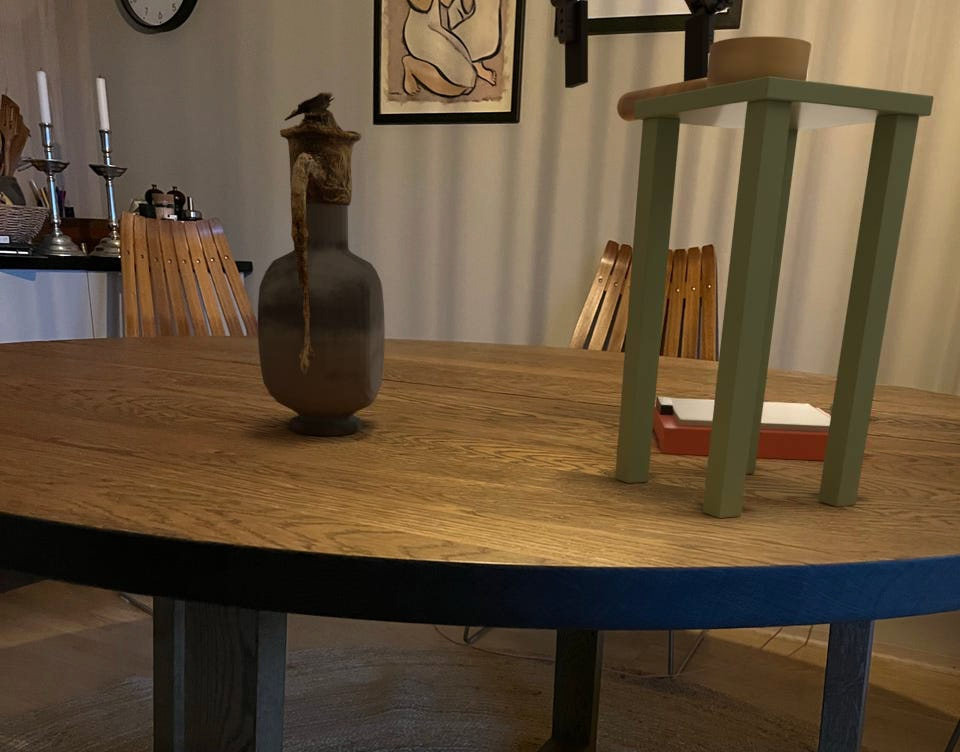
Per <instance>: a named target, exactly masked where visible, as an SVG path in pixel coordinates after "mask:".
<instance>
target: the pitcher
mask: <svg viewBox="0 0 960 752" xmlns="http://www.w3.org/2000/svg"><path fill="white" fill-rule="evenodd" d="M333 95H334V94H333V93H332V92H331V91H329V92H326V91H325V92H324V91H323V92H319V93H318V94H317V95H315V96H313V97H311V98H307V99H305V100H304V101H301V102H300V103H299V104H298V105H297V108H294V109H293V110H292V112H291V113H290V114H289V115H287V116H286V117H285V118H284V121H285V122H286V121H289V120H290V119H293V118H295V117H296V116H299V115H303V116H304V117H303V118H302V119H301V121H300V122H299V124H295V125H294V126H290V127H286V128H282V129H280V130H279V135H280V137H282V138H285V139H286V140H287V146H288V155H289V156H288V157H289V182H290V183H289V184H290V185H289V187H290V214H291V231H290V232H291V233H290V234H291V235H290V236H291V239H292V241H293V247H294V248H293V250H291V251H290V252H288V253H286V254H284V255H282V256H280V257H278V258H275V259H274V260H273V261H271V262H270V264H269V266H268V268H267V269H266V270H265V272H264V274H263V277H262V280H261V281H260V284H259V287H258V299H257V300H258V301H257V339H258V340H257V343H258V356H259V363H260V370H261V371H260V372H261V377H262V382H263V384H264V386H265V388H266V390H267V391H268V393H269V395H270V396H271V397H272V398H273V399H274V401H276V402H277V403H278V404H280V405H282V406H283V407H286V408H288V409H289V410H292V412H294V413H296V414H297V415H296V416H293V417H292V418H291V419H290V421H289V428H290V430H291V431H293V432H295V433H296V434H301V435H306V436H319V437H332V436H333V437H335V436H346V435H351V434H356V433H358V432H359V431H361V430H362V429H363V420H362V418H360V417H359V416H356V413H357V412H359V411H361V410H363V409H365V408H368V407H370V406H372V404H373V403H374V402H375V400H376V398H377V396H378V394H379V392H380V390H381V386H382V382H383V375H384V363H385V361H384V360H385V337H386V335H385V332H386V331H385V330H386V329H385V305H384V304H385V302H384V291H383V285H382V280H381V278H380V276H379V274H378V271H377V270H376V268H375V267H374V266H373V264H372V263H371V262H369V261H368V260H366V259H364V258H363V257H360V256H359V255H356V254H355V253H354V252H352V251H351V250H350V248H349V206H351V202H352V194H353V179H352V178H353V177H352V155H353V149H354V146H355V144H356V143H357V142H359V141H361V140H362V139H363V137H362V134H361V133H359V132H357V131H355V130H354V131H353V130H343V129H342V128H341V127H340V126H339V124H338V122H337V121H336V119H335V116H334V113H333V112H332V111H331V110H329V109H328V108H329V107H330V106H331V104H330V103H331V102H332V101H334V100H335V99H336V97H333V98H332V96H333Z"/></svg>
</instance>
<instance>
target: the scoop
mask: <svg viewBox="0 0 960 752" xmlns="http://www.w3.org/2000/svg"><path fill="white" fill-rule="evenodd" d="M811 51H812V44H811V43H810V42H809V41H807V40H804V39H800V38H794V37H788V36H787V37H786V36H765V35H764V36H762V35H761V36H758V35H757V36H741V37H731V38H725V39H721V40H717V41H714V43H713V44H711V46H710V52H709V55H708V73H707V77H706V78H700V79H695V80H690V81H685V82H684V81H680V82H675V83H669V84H664V85H659V86H655V87H648V88H643V89H638V90H637V89H636V90H633V91H628V92H625V93H623V94H622V95H621V96H620V98H619V99H618V101H617V106H616V110H617V114H618V116H619V117H620V118H621V119H622V120H624V121H625V122H634V121H637V120H636V119H634V107H635V101H640V100H645V99H651V98H656V97H661V96H667V95H672V94H677V93H683V92H688V91H693V90H699V89H704V88H709V87H715V86H720V85H725V84H731V83H736V82H742V81H747V80H752V79H758V78H763V77H768V76H770V77H778V78H787V79H795V80H803V81H808V74H809V69H810V68H809V67H810V60H811V53H812V52H811Z"/></svg>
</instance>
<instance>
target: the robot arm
mask: <svg viewBox="0 0 960 752" xmlns="http://www.w3.org/2000/svg"><path fill="white" fill-rule="evenodd" d="M683 1H684V3H685V4H686V7H687V8H688V10H689V12H690V14H691V16H692V17H690V18H687V19H685V21H684V48H683V49H684V54H683V57H684V58H683V82H685V81H690V80H695V79H700V78H706V77H707V73H708V63H709V52H710V46H711V44H713V43H715V20H716V19H715V18H716V16H717V15H718V13H720V12H723V11H725V10H728V9H730V8H732V7H733V5H734V1H735V0H683ZM549 2H550V4H551V6H552V7H553V8H556V9H557V40H558V44H559V45H564V88H565V89H574V88H576V87H580V86H582V85H585V84H587V83H589V0H549Z"/></svg>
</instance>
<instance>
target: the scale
mask: <svg viewBox="0 0 960 752" xmlns="http://www.w3.org/2000/svg"><path fill="white" fill-rule="evenodd" d="M714 401H715V399H706V398H682V397H681V398H678V397H668V396H656V398H655V409H654V420H653V430H654V433H655V435H656V437H657V438H656V439H655V440H656V442H657V444H658V446H659V449H660V451H661V453H662V454H668V455H687V456H688V455H691V456H708V455H709V446H710V437H711V428H712V419H713V410H714ZM830 420H831V416H830V415H829V414H828V413H827V412H826V411H824V410H822V409H821V408H819V407H813V406H812V405H811V404H810V403H802V402H800V403H798V402H780V401H779V402H776V401H764V403H763V411H762V419H761V427H760V434H759V442H758V450H757V458H758V459H777V460H779V459H780V460H799V461H800V460H801V461H820V462H821V461H823V462H824V459H825V453H826V446H827V440H828V433H829V426H830ZM757 458H756V459H757Z"/></svg>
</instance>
